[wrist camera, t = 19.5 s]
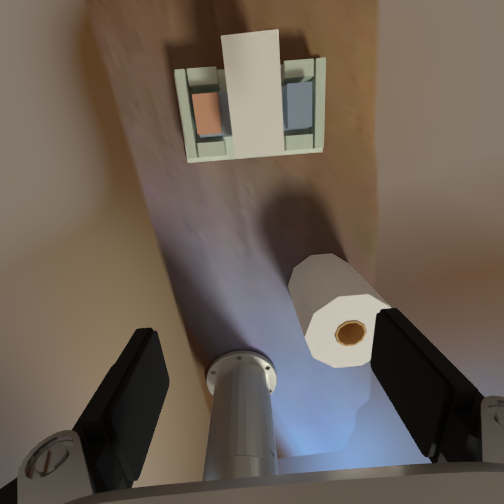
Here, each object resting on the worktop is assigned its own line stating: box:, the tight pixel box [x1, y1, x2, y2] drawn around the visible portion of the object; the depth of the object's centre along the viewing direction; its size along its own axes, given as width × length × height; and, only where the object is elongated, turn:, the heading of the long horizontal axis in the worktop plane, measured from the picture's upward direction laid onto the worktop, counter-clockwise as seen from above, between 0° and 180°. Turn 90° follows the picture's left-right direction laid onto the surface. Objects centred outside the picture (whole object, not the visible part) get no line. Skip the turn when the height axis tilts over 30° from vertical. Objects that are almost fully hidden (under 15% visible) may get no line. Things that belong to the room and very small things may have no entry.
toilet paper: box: [288, 253, 391, 368], centre depth 34 cm, size 10×10×12 cm
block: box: [221, 29, 285, 159], centre depth 24 cm, size 9×4×6 cm, turn 6°
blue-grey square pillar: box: [192, 82, 312, 139], centre depth 28 cm, size 4×12×5 cm, turn 95°
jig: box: [174, 58, 326, 163], centre depth 29 cm, size 10×17×4 cm, turn 94°
